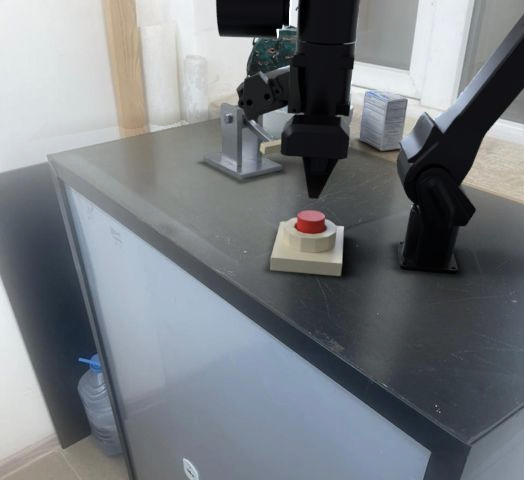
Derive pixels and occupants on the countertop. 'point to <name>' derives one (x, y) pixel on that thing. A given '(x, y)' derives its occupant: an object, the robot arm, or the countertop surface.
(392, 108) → the medicine box
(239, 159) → the bracket
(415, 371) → the countertop surface
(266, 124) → the cereal bowl
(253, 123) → the lever
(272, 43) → the green curved piece
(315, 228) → the button
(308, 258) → the control block
